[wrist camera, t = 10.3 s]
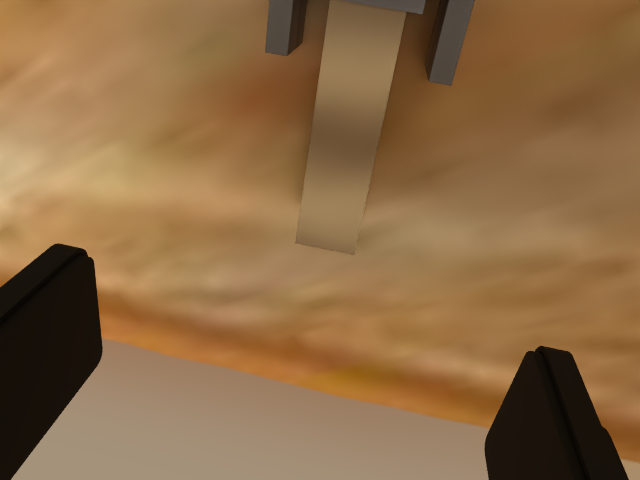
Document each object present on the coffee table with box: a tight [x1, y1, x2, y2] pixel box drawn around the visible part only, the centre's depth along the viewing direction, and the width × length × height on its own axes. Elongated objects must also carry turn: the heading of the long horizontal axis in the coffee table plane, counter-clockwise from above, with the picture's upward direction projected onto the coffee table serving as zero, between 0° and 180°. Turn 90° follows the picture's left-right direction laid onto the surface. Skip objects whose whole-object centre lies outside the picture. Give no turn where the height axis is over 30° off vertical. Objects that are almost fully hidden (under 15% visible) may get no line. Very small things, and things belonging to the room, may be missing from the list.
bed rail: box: [295, 0, 426, 255], centre depth 25 cm, size 13×4×5 cm, turn 171°
